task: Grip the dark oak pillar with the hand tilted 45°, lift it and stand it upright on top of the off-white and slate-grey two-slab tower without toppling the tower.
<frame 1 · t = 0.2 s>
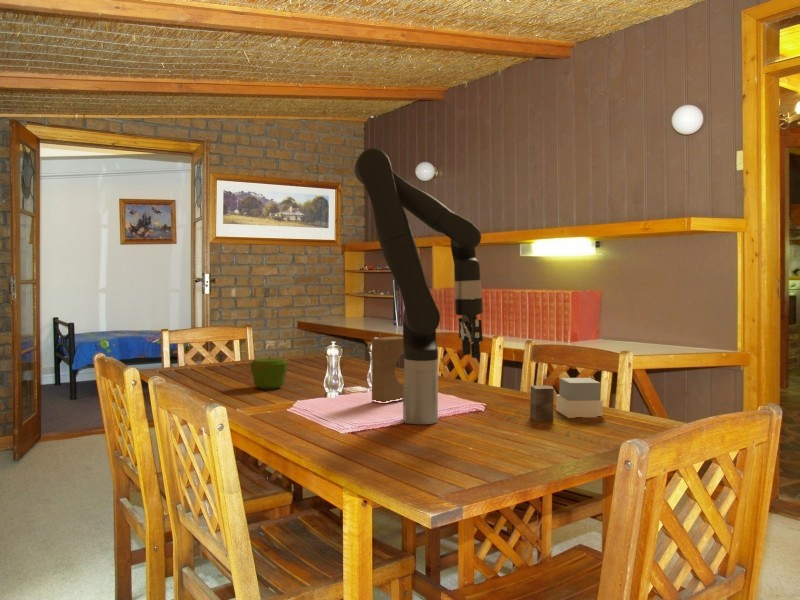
hand: (471, 356, 185), 18 cm above the table, tool pointing down, fingers open, 8 cm apart
decorative block: (389, 401, 214), on the table
oak pillar: (541, 419, 188), on the table
tower base: (578, 414, 196), on the table, touching tower top
apple: (269, 388, 237), on the table
tower top: (579, 397, 196), point 5 cm above the table, touching tower base
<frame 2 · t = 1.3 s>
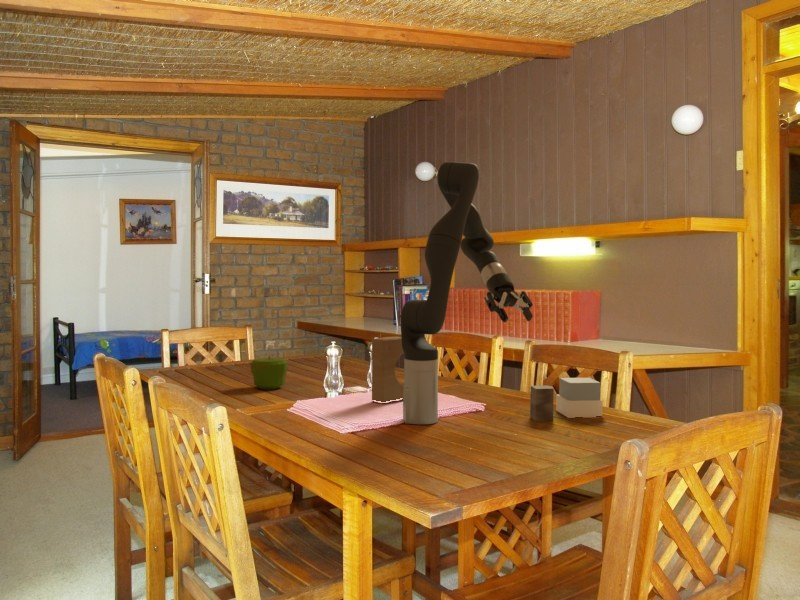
hand: (518, 320, 199), 27 cm above the table, tool tilted 45°, fingers open, 8 cm apart
nothing on the table moved.
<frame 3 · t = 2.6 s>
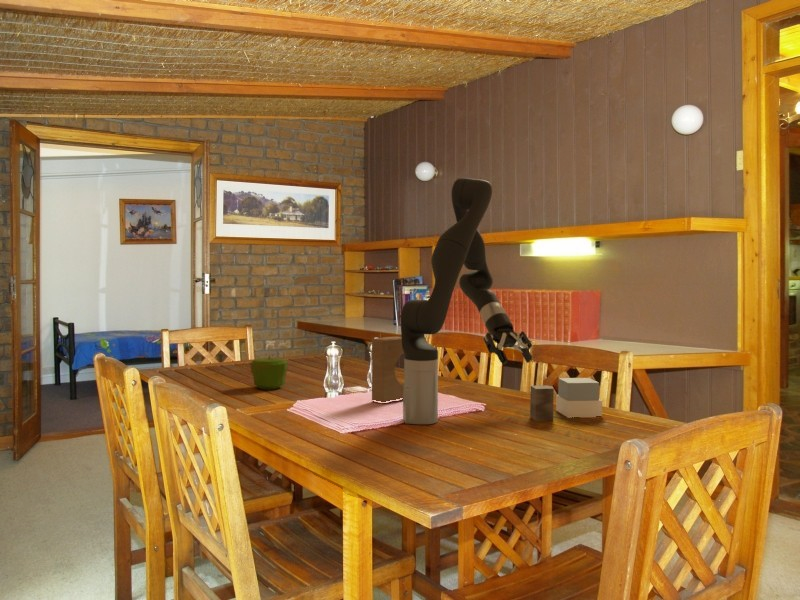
hand: (517, 361, 198), 15 cm above the table, tool tilted 45°, fingers open, 8 cm apart
nothing on the table moved.
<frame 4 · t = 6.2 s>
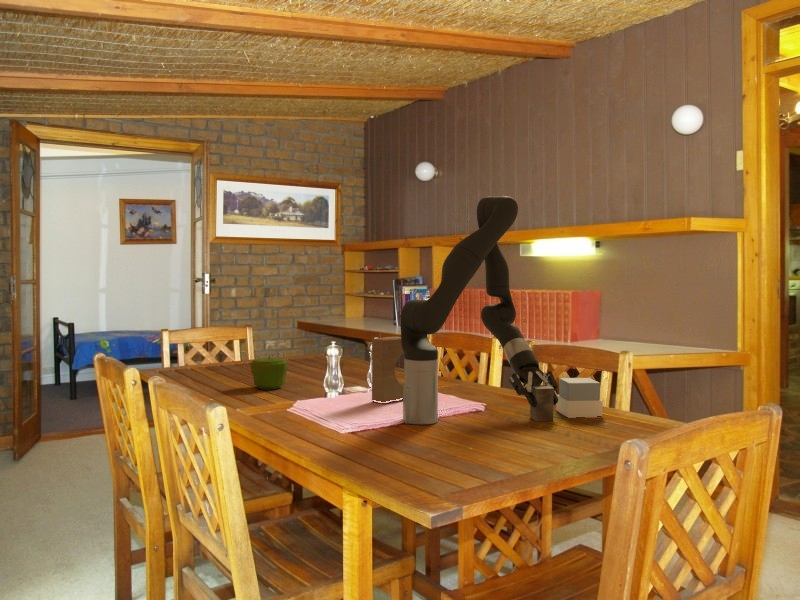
hand: (545, 404, 187), 4 cm above the table, tool tilted 45°, fingers closed on oak pillar, 6 cm apart
oak pillar: (541, 419, 188), on the table, touching gripper
tower base: (578, 414, 196), on the table
tower top: (578, 397, 196), point 5 cm above the table
everything else where it was.
when the fingers open (16 cm above the table, at t = 11.3 s): oak pillar drops 2 cm, resting on tower top.
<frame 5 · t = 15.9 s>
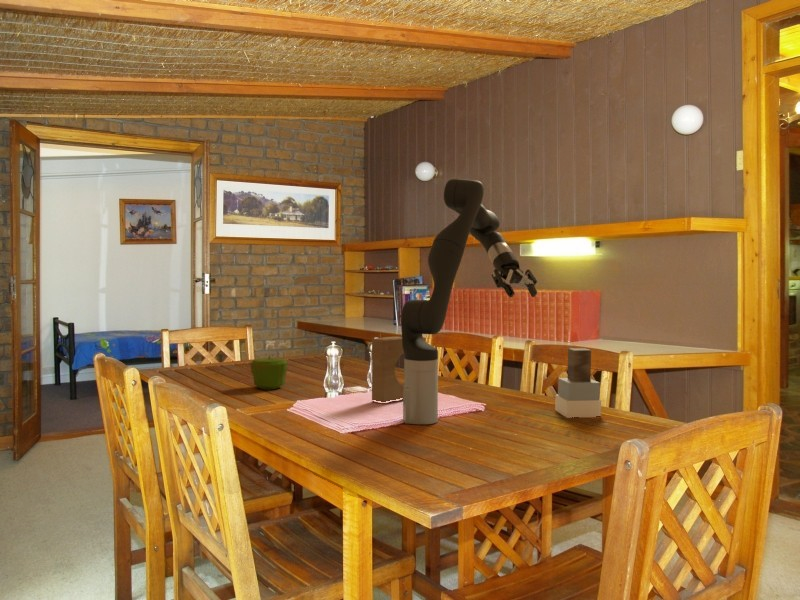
hand: (523, 295, 211), 34 cm above the table, tool tilted 45°, fingers open, 8 cm apart
oak pillar: (578, 380, 195), point 10 cm above the table, touching tower top
tower base: (577, 414, 196), on the table, touching tower top
tower top: (578, 397, 195), point 5 cm above the table, touching oak pillar, tower base
everything else where it was.
at the end: oak pillar 0.2 cm off-centre on the tower top, point 5.0 cm above the tower top's base; oak pillar tilted 0°; tower top 0.2 cm off-centre on the tower base, point 5.0 cm above the tower base's base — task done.
